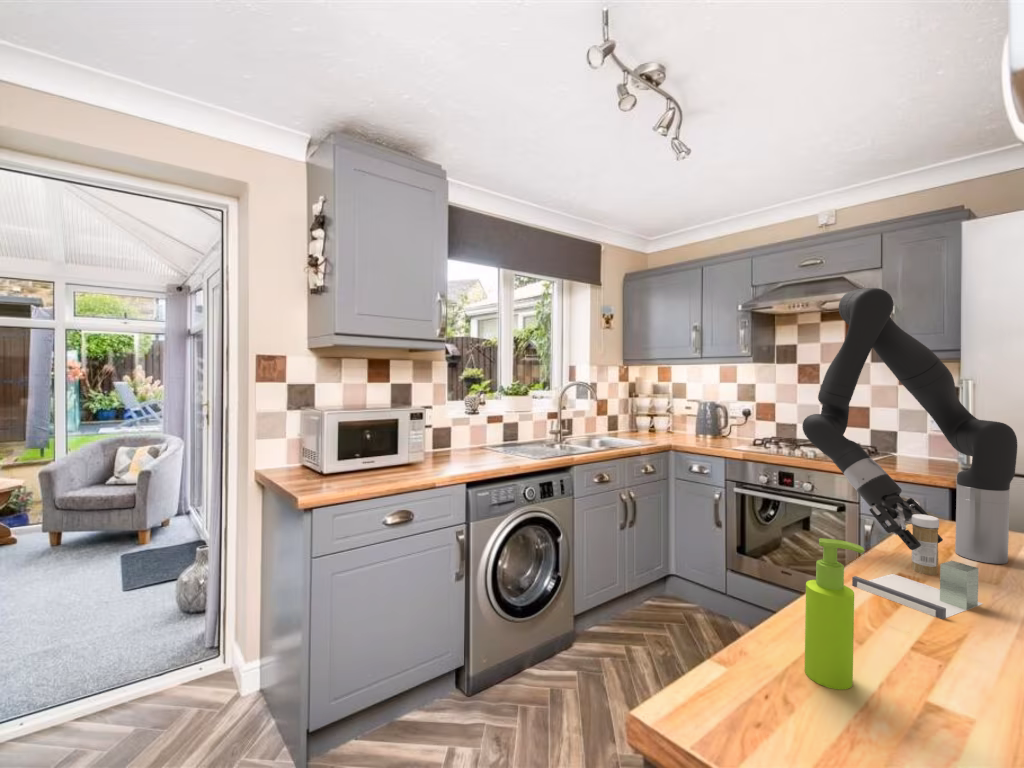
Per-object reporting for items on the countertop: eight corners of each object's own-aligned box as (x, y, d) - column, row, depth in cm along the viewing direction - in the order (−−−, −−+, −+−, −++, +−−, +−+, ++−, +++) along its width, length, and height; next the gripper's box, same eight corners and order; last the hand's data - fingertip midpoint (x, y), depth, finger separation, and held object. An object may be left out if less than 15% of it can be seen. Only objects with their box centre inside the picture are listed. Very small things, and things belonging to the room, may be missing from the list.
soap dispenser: (863, 697, 66) (865, 552, 66) (804, 680, 70) (806, 542, 70) (859, 675, 71) (862, 539, 71) (804, 660, 75) (807, 531, 75)
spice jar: (939, 578, 106) (940, 516, 106) (936, 584, 103) (938, 520, 103) (912, 571, 109) (913, 512, 109) (908, 577, 106) (910, 516, 106)
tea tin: (950, 596, 94) (951, 560, 94) (977, 605, 90) (978, 568, 90) (939, 600, 92) (940, 563, 92) (966, 610, 88) (967, 571, 88)
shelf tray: (892, 580, 105) (892, 565, 104) (982, 611, 91) (983, 594, 91) (851, 592, 99) (851, 577, 99) (942, 627, 85) (942, 609, 85)
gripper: (865, 475, 110) (924, 541, 100) (901, 470, 116) (960, 532, 106) (840, 493, 115) (894, 558, 105) (876, 488, 121) (931, 549, 111)
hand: (927, 545), depth 105 cm, fingers open, 8 cm apart
